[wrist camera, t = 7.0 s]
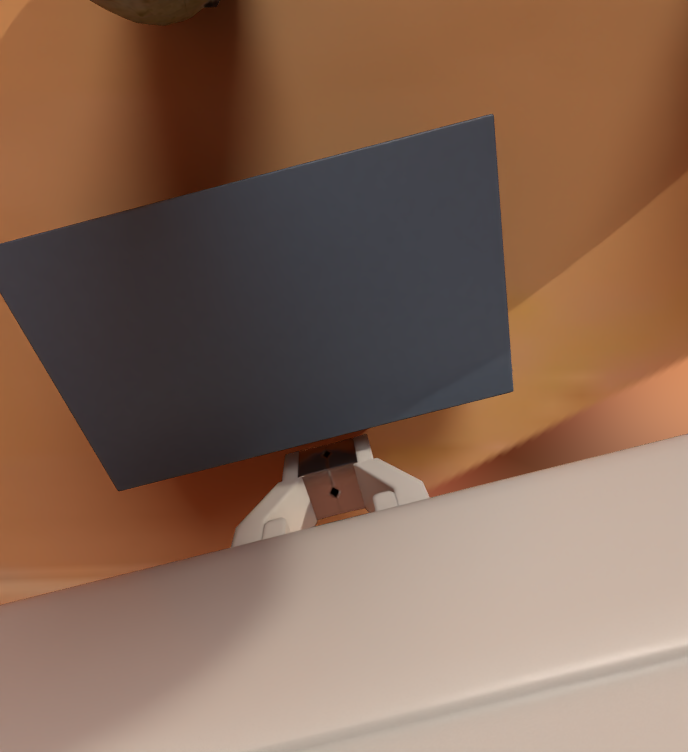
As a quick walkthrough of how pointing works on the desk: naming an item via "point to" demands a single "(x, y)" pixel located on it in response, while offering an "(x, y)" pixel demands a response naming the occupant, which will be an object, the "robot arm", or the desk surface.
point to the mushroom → (156, 9)
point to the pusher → (275, 305)
